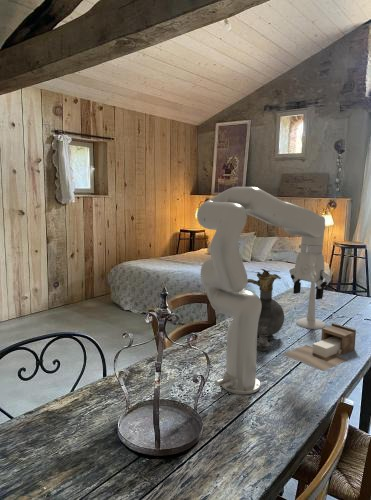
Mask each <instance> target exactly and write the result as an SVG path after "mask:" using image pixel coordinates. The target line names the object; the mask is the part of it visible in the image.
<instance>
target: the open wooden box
mask: <svg viewBox="0 0 371 500" xmlns="http://www.w3.org/2000/svg"><path fill="white" fill-rule="evenodd" d="M356 334H357V330H356V329H355V328H352V327H348V326H344V325H341V324H338V323H334V322H332V323H331V325H329V326H325V327H324V328H321V338H320V339H321V340H320V341H322V340H324V339H327V338H330V337H332V336H337V337H341V338H342V349H340V350H338V353H336V354H334V355H331V356H329V357H323V356H320V355H318V354H315V353H312V349H313V346H310V345H308V344H306V345H303V346H299V347H297V348H295V349H292V350H289V351H287V352H284V353H282V355H284V356H286V357H288V358H290V359H294V360H296V361H298V362H301V363H303V364H305V365H308V366H310V367H312V368H314V369H317V370H319V371H323V372H324V371H325V372H326V371H327V370H328V369H331V368H333V367H336V366H337V365H338V366H339V365H340V364H342V363H344V362H347V361H348V359H345V358H342V357H341V356H342V355H345V354H347V353H350V352H352V351H354V350H355V348H356V346H355V345H356Z"/></svg>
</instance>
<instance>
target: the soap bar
mask: <svg viewBox="0 0 371 500" xmlns="http://www.w3.org/2000/svg"><path fill="white" fill-rule="evenodd" d="M312 347H313V349H312V353H315V354H318V355H320V356H323V357H329V356H331V355H334V354H336V353H338V350H340V349H342V338H341V337H337V336H332V337H330V338H327V339H324V340H322V341H321V340H319V341H317V342H314V343H312Z"/></svg>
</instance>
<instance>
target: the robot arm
mask: <svg viewBox="0 0 371 500" xmlns="http://www.w3.org/2000/svg"><path fill="white" fill-rule="evenodd" d="M247 215H248V216H251V217H253V218H255V219H257V220H260V221H262V222H264V223H266V224H267V225H268V224H269V225H271V226H274V227H278V228H283V230H284V232H285V233H286V234H288V235H291V236H297V237H301V243H300V244H299V245H298V249H300V251H298V253H297V256H296V260H295V264H294V267H293V268H291V269H289V274H290V278H291V279H292V283H293V294H294V295H296V294H300V293H301V287H302V283H301V281H304V282H309V283H311V282H315V286H316V287H317V288H315V300H322V299H323V297H324V291H325V290H324V289H325V288H326V287H327V286H329V283H330V282H331V280H332V277H331V276H330V275H328V273H326V272H325V256H324V254H323V252H324V251H323V249H324V238H325V237H324V236H325V230H326V218H325V216H323V215H320V214H318V213H317V212H315V211H313V210H311V209H308V208H306V207H302V206H300V205H296V204H294V203H290V202H287V201H283V200H282V199H280V198H277V197H275V196H274V195H272V194H270V193H268V192H267V191H265V190H264V189H261V188H259V187H256V186H232V187H230V188H227V189H226V190H224V191H222V192H220V193H219V194H216V195H215V196H213V197H211V198H209V199H208V200H206V201H204V202H203V203H202V204H201V205H200V206H199V208H198V210H197V213H196V218H197V222H198V224H199V225H200V226H201V227H202V228H204V229H206V230H211V231H212V230H213V231H215V233H214V235H213V237H212V239H211V241H210V243H209V244H210V245H209V254H210V255H209V256H210V257H209V258H207V259H206V260H205V261H204V262H203V264H202V265H201V268H200V280H201V283H202V286H203V288H204V291H205V294H206V296H207V299H208V300H209V304H210V306H211V307H212V308H213V310H214V311H216V312H217V313H219V314H222V315H225V316H227V317H229V318H231V319H232V320H231V323H230V324H229V326H228V328H227V332H226V360H225V361H226V362H225V363H226V364H225V372H223V376H222V377H221V378H219V379H216V380H215V381H214V385H215V387H217V388H218V387H222V388H223V389H224V390H225V391H227V392H229V393H232V394H235V395H236V394H237V395H251V394H254V393H257V392H258V391H259V390H260V389H261V381H260V380H259V379H258V378H256V376H257V375H256V374H257V353H258V352H257V351H258V348H257V341H258V339H257V329H258V321H259V317H260V313H261V308H262V304H261V300H260V296H258V295H257V294H256V293H254V292H253V291H250V290H247V289H246V288H247V286H248V283H247V282H248V279H249V278H248V274H247V271H246V268H245V264H244V261H243V259H242V255H241V253H240V249H239V239H240V237H241V235H242V232H243V230H244V228H245V226H246V224H247V218H248V216H247Z"/></svg>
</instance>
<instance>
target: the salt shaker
mask: <svg viewBox="0 0 371 500" xmlns="http://www.w3.org/2000/svg"><path fill="white" fill-rule="evenodd" d="M267 336H268V334H267V326H266V325H264V323H263V325H261V326H260V333H259V339H258V340H257V351H262V352H266V351H268V350H269V349H270V348H271V347H270V346H271V345H272V343H270V342H269V340H267Z"/></svg>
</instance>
